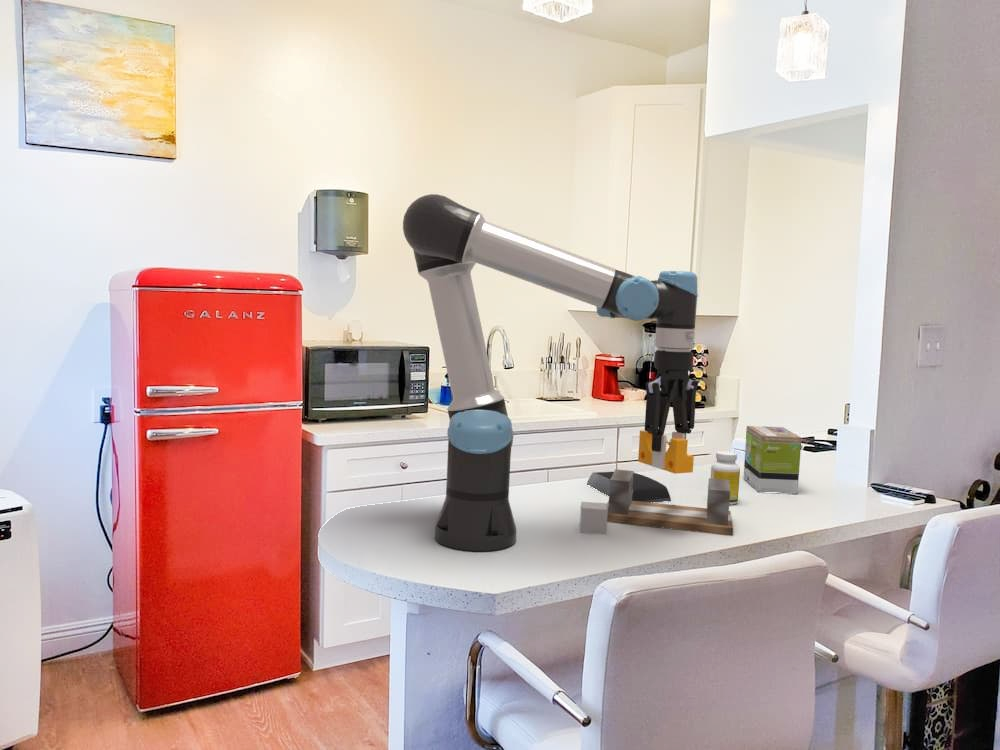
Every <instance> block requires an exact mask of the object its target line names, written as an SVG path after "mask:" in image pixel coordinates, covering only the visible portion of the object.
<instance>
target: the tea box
mask: <svg viewBox="0 0 1000 750" xmlns="http://www.w3.org/2000/svg"><path fill="white" fill-rule="evenodd" d="M745 432H746V433H745V448H744V450H745V451H744V466H743V480H745V481H746V482H747V483H748V484H749V485H751V487H753V488H754V489H755V490H756V491H757V492H758V493H759V492H780V493H794V494H793V495H798V489H799V475H800V464H801V463H800V461H801V451H802V450H801V449H802V436H800V435H798V434H796V433H794V432H792V431H790V430H789V429H786V428H785V427H782V426H781V427H780V426H764V425H763V426H762V425H758V426H757V425H755V426H752V425H747V426H746V431H745Z"/></svg>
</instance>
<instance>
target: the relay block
mask: <svg viewBox="0 0 1000 750" xmlns="http://www.w3.org/2000/svg"><path fill="white" fill-rule="evenodd" d="M606 504H607V502H594V501H593V502H592V501H591V502H590V501H581V502H580V516H579V530H580V533H581V534H593V535H594V534H596V535H607V529H608V528H607V527H608V522H607V514H608V509H607V505H606Z"/></svg>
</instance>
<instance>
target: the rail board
mask: <svg viewBox="0 0 1000 750" xmlns="http://www.w3.org/2000/svg"><path fill="white" fill-rule="evenodd" d="M613 472H614V473H613V475H612V477H611V479H610V490H609V496H608V501H607V502H606V505H607V509H608V514H607V523H616V524H617V523H618V524H623V525H624V524H625V525H633V524H635V525H634V526H642V525H645V526H644V527H651V526H655V527H654V528H660V527H664V528H663V529H669V528H672V529H671V530H678V529H681V531H687V530H690V531H689V532H696V531H698V532H697V533H707V534H715V535H716V534H717V535H723V534H725V536H732V535H733V536H734V525H733V517H732V516H733V515H732V511H731V510H730V505H729V503H730V487H729V481H728V480H722V479H712V478H711V477H709V478H708V484H707V501H706V508H705V507H698V506H697V507H696V506H686V505H679V504H677V505H676V504H668V503H660V502H655V503H650V502H640V501H632V491H633V475H634V473H635V470H626V469H614V471H613Z"/></svg>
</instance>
